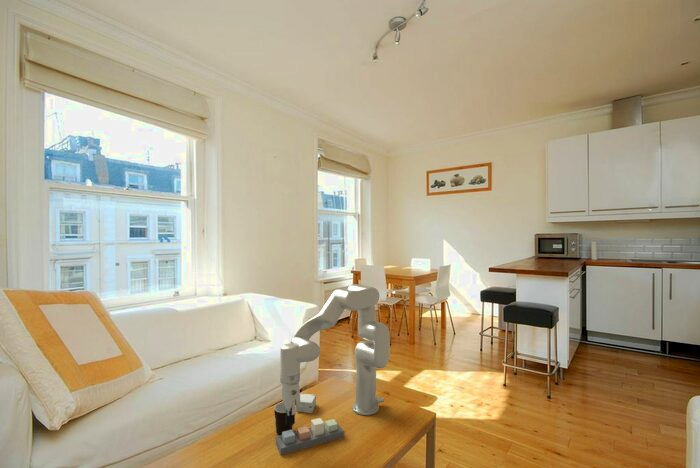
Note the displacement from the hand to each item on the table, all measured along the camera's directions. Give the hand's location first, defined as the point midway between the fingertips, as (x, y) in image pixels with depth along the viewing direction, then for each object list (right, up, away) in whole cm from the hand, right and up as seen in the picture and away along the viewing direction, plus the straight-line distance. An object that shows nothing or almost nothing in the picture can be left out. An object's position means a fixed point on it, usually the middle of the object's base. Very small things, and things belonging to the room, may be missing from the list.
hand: (290, 423), depth 125 cm
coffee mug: (-4, -9, +11) cm, 14 cm away
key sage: (+15, -9, +8) cm, 19 cm away
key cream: (+10, -7, +5) cm, 13 cm away
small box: (+2, -9, +28) cm, 29 cm away
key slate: (-1, -8, -1) cm, 8 cm away
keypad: (+7, -9, +3) cm, 12 cm away
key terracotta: (+5, -8, +2) cm, 10 cm away
